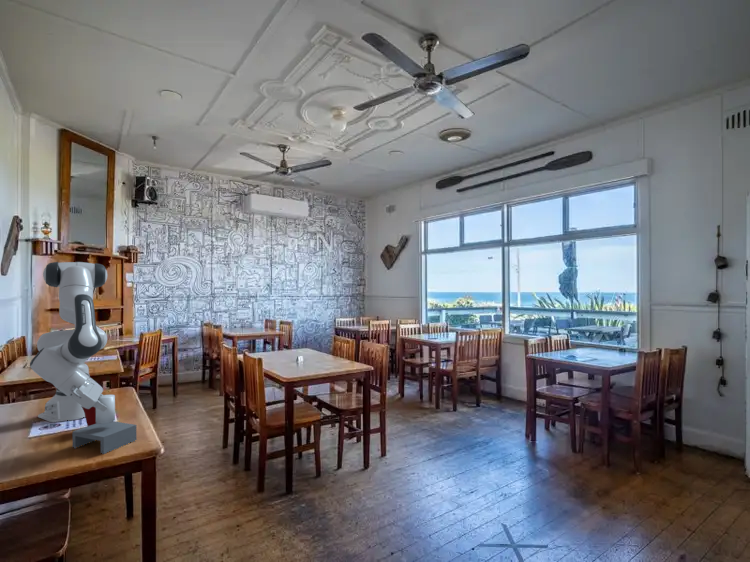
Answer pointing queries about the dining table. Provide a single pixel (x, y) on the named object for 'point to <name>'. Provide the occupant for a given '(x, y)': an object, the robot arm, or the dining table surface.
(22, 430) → the dining table surface
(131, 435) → the shelf
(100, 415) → the white rounded domed part
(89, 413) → the plastic cup
